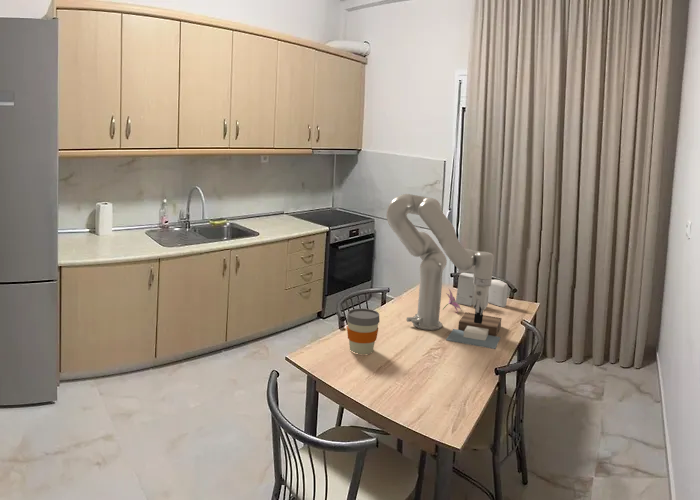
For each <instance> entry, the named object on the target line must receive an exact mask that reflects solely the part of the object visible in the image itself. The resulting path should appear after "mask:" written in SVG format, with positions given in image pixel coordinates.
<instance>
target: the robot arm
mask: <svg viewBox="0 0 700 500" xmlns="http://www.w3.org/2000/svg"><path fill="white" fill-rule="evenodd" d="M441 207H442V206H441V204H440V202H439V200H437V199H436V198H433V197H428V196H421V195H415V194H410V193H403V194H401V195H398V196H396V197H394V198H393V199H392V200H391V201H390V203H389V205H388V207H387V210H386V221H387V223H388V225H389V227H390V228H391V230H392V231H393V233H394V234H395V235H396V236H397V238H398V240H399V241H400V243H402V245H403V246H404V247H405V249H406V250H407V251H408V253H409V254H410V255H411V256H412V257H416V258H419V257H420V259H421V263H420V267H419V287H418V301H417V313H415V315H414V316H408V317H406V322H408V323H409V322H410V323H412V325H413V326H414V327H415V328H418V329H420V330H425V331H436V330H440V329H442V327H443V323H442V322H441V321H440V314H441V313H440V312H441V311H440V310H441V300H442V288H443V273H444V270H445V268H446V266H447V258H448V259H449V260H450V261H451V263H452V264H453V265H454V267H456V268H457V269H458V270H460V271H463V272H464V271H465V272H466V271H469V270H470V269H471V268H472V267H474V269H473V275H474V277H473V285H475V292H474V302H473V305H472V306H473V309H475V311H474V312H475V313H474V314H475V317H474V323H479V324H481V323H482V319H483V315H484V310H486V308H487V307H488V305H489V303H488V296H489V287H490V286H491V281H492V280H493V270H494V262H495V261H494V259H495V255H494V254H493V253H492V252H488V251H478V250H474V249H471V248H464V246H463V245H462V243H461V242H460V240H459V239H458V237H457V234H456V230H455V227H454V225H453V224H452V222H451V221H450V220H449V218H448V217H447V216H446V215H445V214H444V213H443V211H442V210H441V209H442V208H441ZM408 214H411V215H417V216H419V217H420V218H421V220H422V221H423V222H424V223H425V225H426V226H427V228H428V229H429V231H431V232H432V234H433V235H434V237H435V238H436V239H437V241H438V243H439V245H440V246H441V248H442V250H443V251H444V252H443V251H442V250H441V248H440V247H439V245H438V244H437V243H436V242H435V241H434V239H433V238H432V237H431V235H429V234H428V233H426V232H425V231H419V230H418V229H417V228H416V227H415V224H414V223H413V222H412V221H411V220H410V219H409V218H408ZM444 253H445V254H444ZM445 255H446V256H447V257H446V256H445Z"/></svg>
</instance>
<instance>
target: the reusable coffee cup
mask: <svg viewBox="0 0 700 500" xmlns="http://www.w3.org/2000/svg"><path fill="white" fill-rule="evenodd" d="M346 321H347V326H346V331H347V339H348V343H349V344H348V345H349V351H350V350H351V351H353V352H355V353H358V354H368V355H370V354H369V353H371V352H372V353H374V347H375V344H376V342H375V341H377V339H378V334H379V327H378V326H379V324H380V312H378V311H377V310H374V309H371V308H353V309H350V310H349V311H347V317H346ZM351 351H350V352H351ZM372 353H371V354H372ZM358 354H357V355H358Z"/></svg>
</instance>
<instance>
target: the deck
mask: <svg viewBox="0 0 700 500" xmlns="http://www.w3.org/2000/svg"><path fill="white" fill-rule="evenodd" d="M474 317H475V313H472V312H466V311H465V312H464V313H463V315H462V316H461V318H460V319H459V321H458V329H457V330H463V331H464V330H465V329H466V327H467V325H468V326H474V327H480V328H485V329H489V331H488V335H491V336H498V335H497V334H498V333H499V331H500V330H501V326H502V317H496V316H490V315H485V314H483V319H482V323H481V324H479V323H474Z"/></svg>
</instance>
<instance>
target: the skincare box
mask: <svg viewBox="0 0 700 500" xmlns="http://www.w3.org/2000/svg"><path fill="white" fill-rule="evenodd" d="M473 277H474V273H469V272H468V273H467V272H461V273H459V276H458V281H457V289H456V297H455V300H456V302H457V303H458V304H459V305H464V306H468V307H472V306H473V302H474V292H475V285H473Z"/></svg>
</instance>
